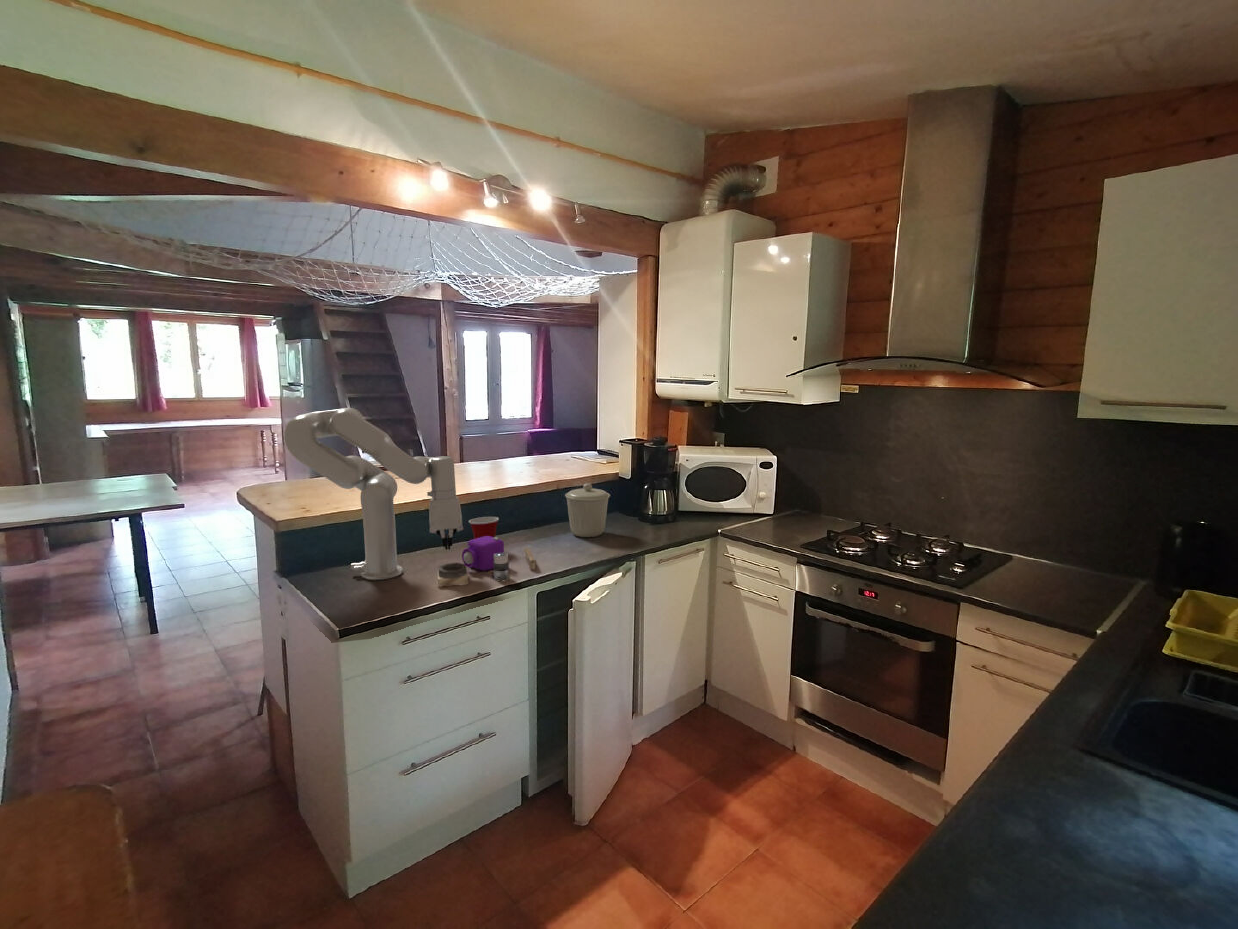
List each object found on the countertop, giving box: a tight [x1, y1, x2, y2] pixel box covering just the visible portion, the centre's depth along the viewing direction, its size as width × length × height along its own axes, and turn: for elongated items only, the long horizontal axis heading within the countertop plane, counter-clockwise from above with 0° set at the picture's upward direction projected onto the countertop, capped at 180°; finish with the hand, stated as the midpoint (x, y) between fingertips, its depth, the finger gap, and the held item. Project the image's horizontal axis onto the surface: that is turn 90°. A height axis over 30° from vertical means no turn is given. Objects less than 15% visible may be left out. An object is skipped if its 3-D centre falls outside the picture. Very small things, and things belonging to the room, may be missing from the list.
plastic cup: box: [468, 516, 500, 539], centre depth 224 cm, size 11×11×12 cm
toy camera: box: [461, 536, 505, 572], centre depth 205 cm, size 11×14×10 cm
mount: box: [437, 562, 469, 588], centre depth 192 cm, size 9×9×4 cm
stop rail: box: [524, 547, 536, 571], centre depth 210 cm, size 2×14×4 cm, turn 16°
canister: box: [564, 483, 611, 538], centre depth 246 cm, size 18×18×21 cm
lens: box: [493, 552, 510, 582], centre depth 195 cm, size 5×5×8 cm
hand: (447, 548), depth 201 cm, fingers closed
